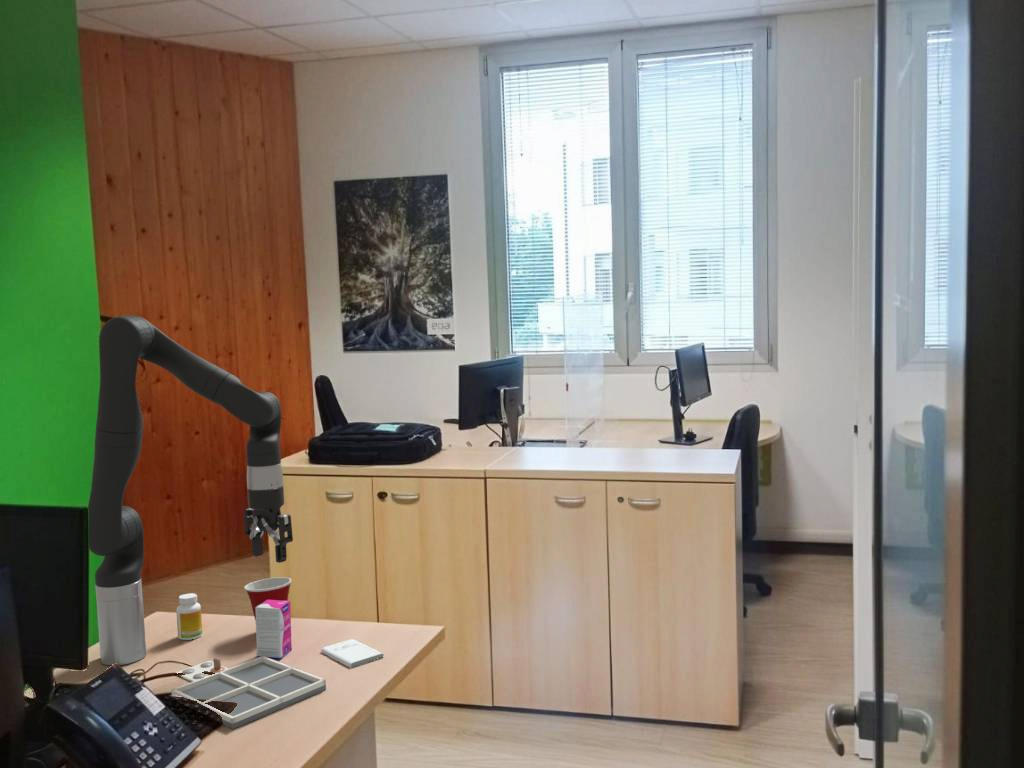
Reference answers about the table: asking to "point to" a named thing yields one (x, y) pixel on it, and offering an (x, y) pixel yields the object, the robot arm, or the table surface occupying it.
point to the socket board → (253, 689)
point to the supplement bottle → (189, 617)
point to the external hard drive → (351, 653)
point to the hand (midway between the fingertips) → (269, 558)
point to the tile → (202, 670)
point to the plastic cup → (268, 590)
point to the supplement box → (273, 629)
